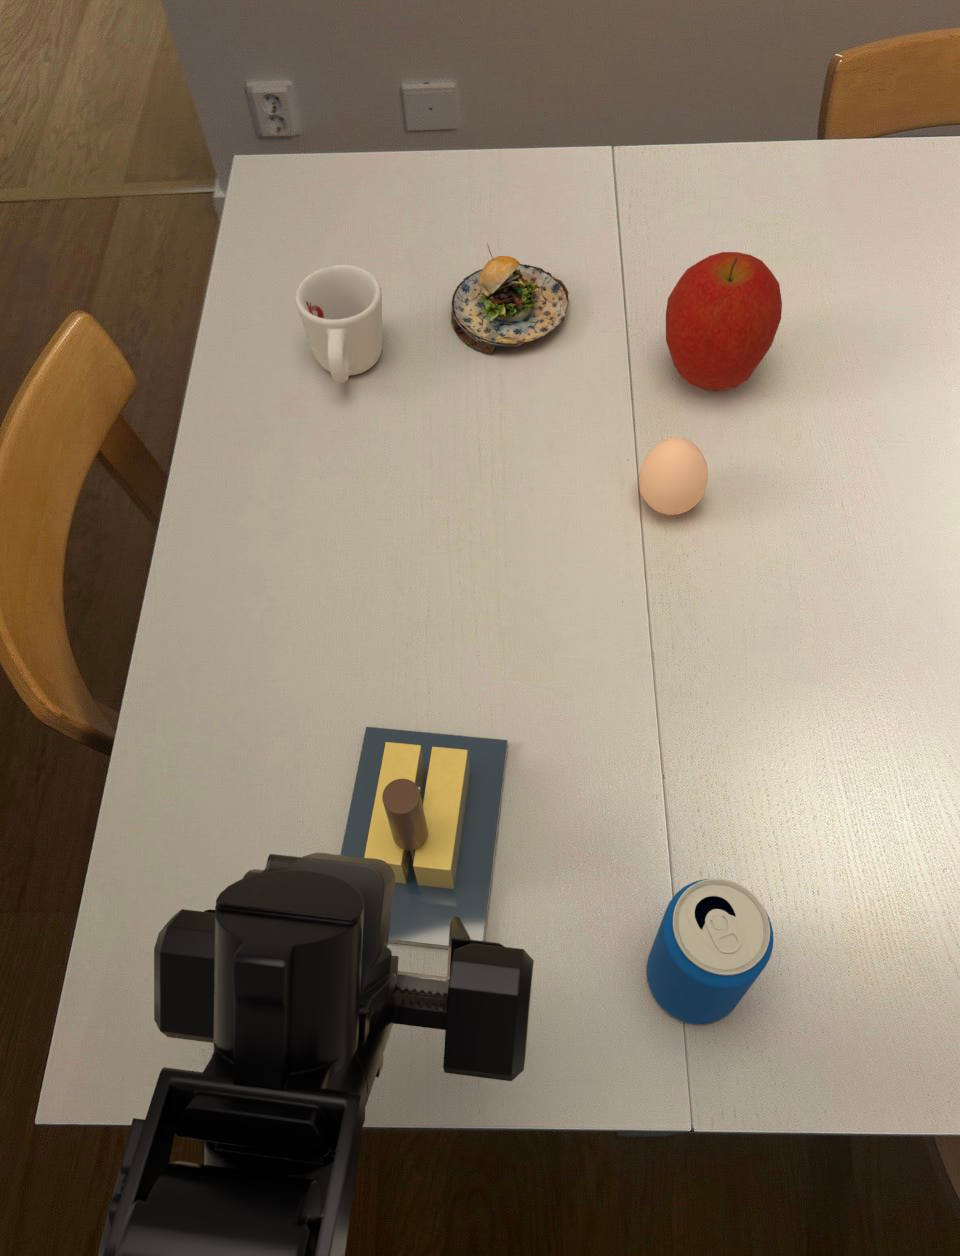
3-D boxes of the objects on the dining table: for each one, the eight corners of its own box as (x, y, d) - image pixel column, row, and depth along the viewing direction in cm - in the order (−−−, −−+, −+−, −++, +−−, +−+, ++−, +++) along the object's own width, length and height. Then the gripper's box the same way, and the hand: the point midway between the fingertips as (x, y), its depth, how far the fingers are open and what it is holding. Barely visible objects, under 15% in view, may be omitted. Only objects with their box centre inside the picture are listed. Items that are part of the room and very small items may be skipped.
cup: (386, 407, 101) (376, 343, 94) (302, 408, 101) (286, 345, 94) (392, 328, 106) (383, 262, 100) (313, 329, 107) (299, 264, 100)
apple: (740, 329, 105) (767, 207, 93) (783, 400, 100) (817, 280, 88) (641, 352, 104) (656, 231, 92) (679, 425, 98) (700, 307, 87)
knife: (429, 873, 75) (417, 815, 66) (396, 870, 75) (379, 811, 66) (439, 811, 78) (428, 747, 68) (407, 808, 78) (391, 743, 69)
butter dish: (482, 953, 73) (480, 933, 69) (326, 935, 74) (315, 914, 70) (507, 744, 82) (506, 715, 78) (367, 731, 83) (359, 701, 79)
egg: (646, 472, 95) (655, 412, 89) (708, 488, 94) (722, 429, 88) (627, 520, 93) (635, 462, 86) (692, 537, 91) (704, 480, 85)
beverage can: (714, 916, 74) (744, 856, 64) (759, 1005, 71) (798, 957, 61) (629, 949, 73) (646, 894, 63) (671, 1042, 70) (696, 999, 60)
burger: (488, 374, 103) (486, 313, 96) (429, 303, 108) (424, 242, 102) (592, 327, 106) (597, 266, 99) (529, 261, 111) (530, 198, 105)
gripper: (531, 942, 43) (549, 801, 59) (95, 891, 45) (222, 767, 60) (511, 1176, 46) (534, 982, 61) (98, 1119, 48) (220, 944, 63)
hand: (377, 915), depth 61 cm, fingers open, 9 cm apart
